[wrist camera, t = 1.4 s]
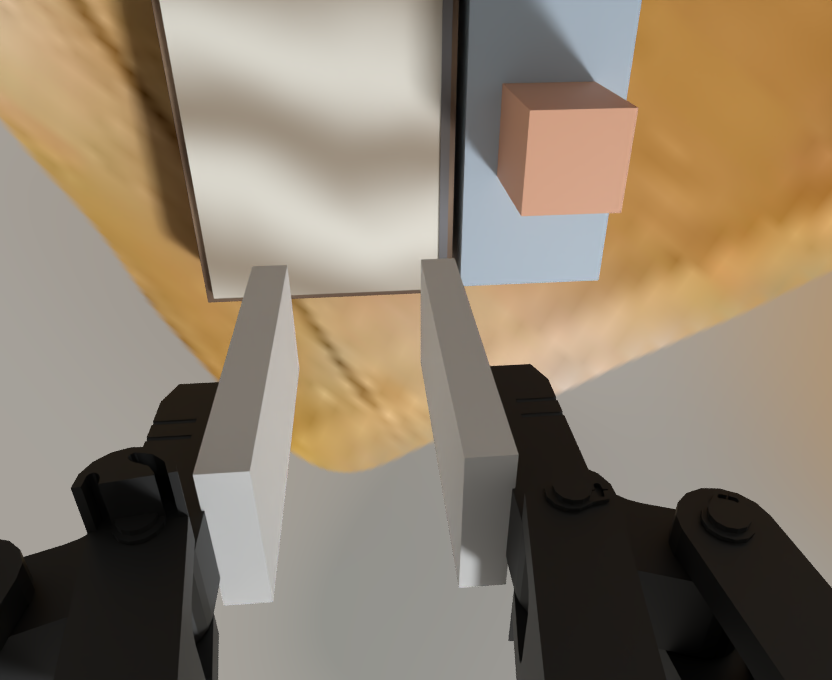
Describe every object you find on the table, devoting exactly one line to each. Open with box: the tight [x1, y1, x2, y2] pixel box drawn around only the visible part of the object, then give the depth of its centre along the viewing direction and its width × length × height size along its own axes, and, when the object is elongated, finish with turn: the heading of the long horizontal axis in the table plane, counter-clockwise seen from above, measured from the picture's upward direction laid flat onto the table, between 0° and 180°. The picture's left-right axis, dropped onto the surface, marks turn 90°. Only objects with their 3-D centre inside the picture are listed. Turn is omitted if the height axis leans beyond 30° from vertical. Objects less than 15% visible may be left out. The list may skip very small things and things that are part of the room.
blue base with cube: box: [452, 0, 642, 286], centre depth 29 cm, size 15×7×8 cm, turn 0°
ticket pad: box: [151, 0, 459, 302], centre depth 30 cm, size 16×12×4 cm
